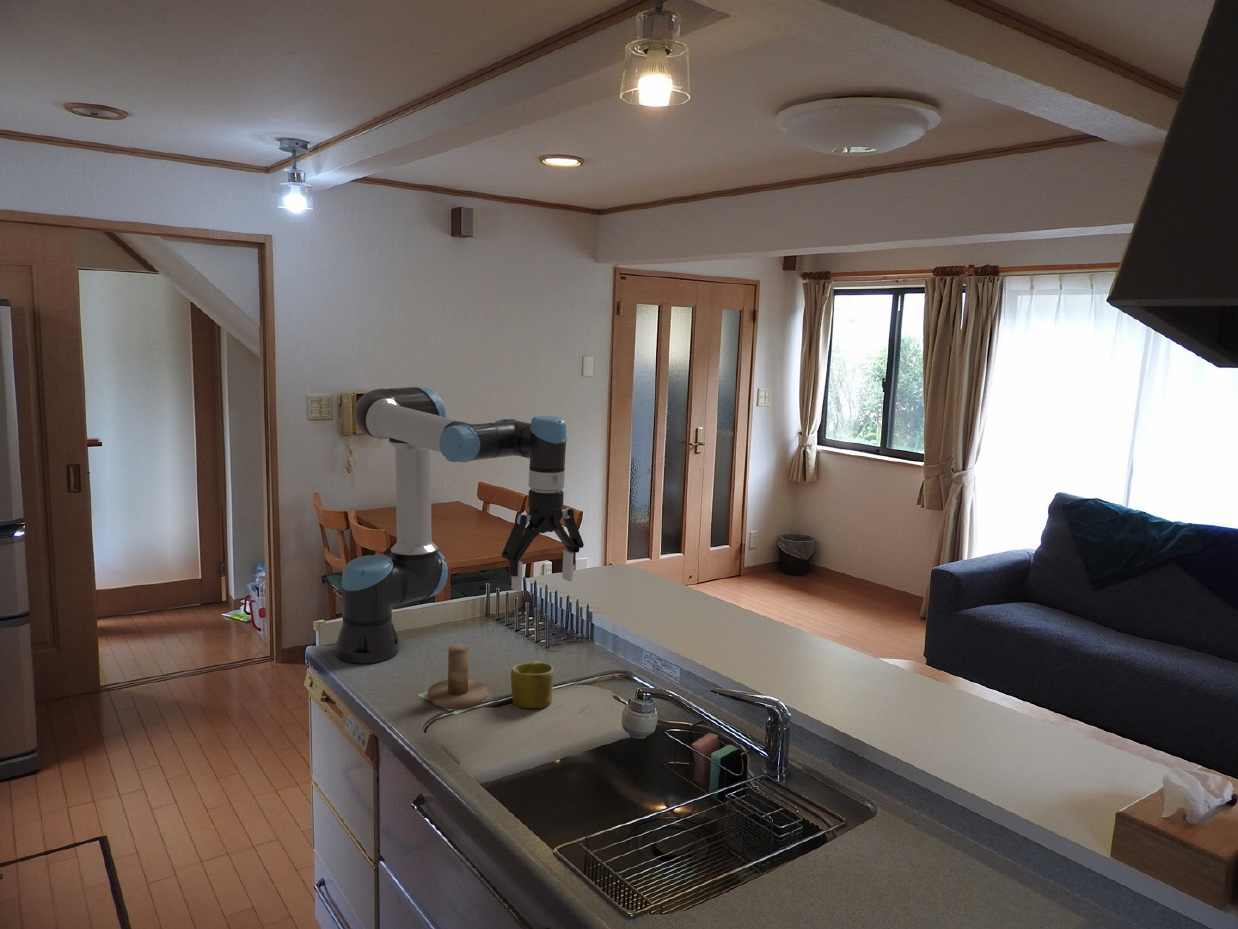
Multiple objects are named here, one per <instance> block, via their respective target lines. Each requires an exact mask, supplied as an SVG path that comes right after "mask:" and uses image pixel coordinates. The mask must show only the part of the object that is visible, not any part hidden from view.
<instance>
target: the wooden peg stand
mask: <svg viewBox="0 0 1238 929" xmlns="http://www.w3.org/2000/svg"><path fill="white" fill-rule="evenodd" d="M447 649H448V652H447V653H448V654H447V655H448V656H447V657H448V658H447V662H448V663H447V666H448V667H447V679H445V680H441V681H438V682H436V683H434V684H432V685H431V686H430V687H429V688H428V690H427V691H428V700H429V701H430V702H431V703H432V704H431V703H430V702H429V701H428V700H427V701H428V702H429V703H430V704H431V705H433V704H434V705H433V706H435V705H437V706H439V707H438V708H440V707H442V708H441V709H443V708H446V709H467V708H471V707H473V708H476V707H477V706H476V705H478V704H480V703H481V702H482V701H483V700H485V699H486V698H487V695H488V693H489V692H488V691H489V690H488V687H487V685H485V684H484V683H483V682H481V681H478V680H475V679H470V678H469V668H470V667H469V660H470V659H469V656H470V647H469V645H466V644H462V643H461V644H460V643H459V644H458V643H457V644H453V645H450V646H449V647H448V648H447ZM437 706H436V707H437ZM475 706H476V707H475ZM478 706H479V705H478ZM471 709H472V708H471Z"/></svg>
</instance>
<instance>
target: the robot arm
mask: <svg viewBox="0 0 1238 929" xmlns="http://www.w3.org/2000/svg"><path fill="white" fill-rule="evenodd" d="M353 420H354V422H355V425H356V427H357V429H358V430H360V432H362V433H363V434H365V435H366V436H369V437H372V438H374V439H378V440H388V443H389V445H391V446H392V447H393V448H394V451H395V452H394V454H395V455H394V456H395V457H394V458H395V498H396V500H395V503H396V504H395V505H396V506H395V507H396V509H395V510H396V511H395V512H396V513H395V514H396V543H395V544H393V546H392V547H391V549H390V556H388V555H386V554H373V555H370V554H367V555H363V556H359V557H356V558H354V559H352V560H350V561H349V562H347V563H346V564H345V566H344V567H343V569H342V580H341V587H342V589H341V590H342V591H341V592H342V596H341V597H342V599H341V600H342V602H341V603H342V624H341V626H340V629H339V633H338V636H337V640H336V642H335V644H334V646H335V647H334V653H335V654H334V655H335V657H336V658H337V659H338V660H341V661H343V662H346V663H349V664H350V663H351V664H360V665H361V664H363V665H364V664H372V663H373V664H375V663H381V662H383V661H387V660H390V659H392V658H394V657H396V656H397V655H398V653H399V651H400V641H399V638H398V634H397V632H396V631H397V630H396V629H395V626H394V624H393V617H392V616H393V607H396V606H400V605H405V604H408V603H413V602H416V601H422V600H427V599H429V598H431V597H434V596H437V595H438V594H439V593H440V592H441V591H443V589H444V587H446V586H445V585H446V584H447V580H448V576H449V575H448V574H449V570H448V565H447V564H448V563H447V561H446V558H445V556H444V555H443V554H442V553H441V552H440V551H439V550H438V548H439V547H438V545H436V544H435V543H434V542H433V539H432V536H433V535H432V476H431V475H432V469H431V468H432V467H431V460H432V458H431V454H432V452H431V450H432V451H435V452H439V453H441V454H442V456H443V457H444V458H445V460H447V461H448V462H452V463H468V462H472V461H479V460H487V459H496V458H504V457H513V456H514V457H520V458H527V459H528V460H529V472H528V473H529V474H528V487H529V490H528V492H527V493H528V496H527V497H528V499H527V506H528V509H529V510H528V513H527V514H522V513H519V512H518V513H516V514H515V519H514V520H515V521H514V525H513V526H512V530H511V531H510V535H509V537H508V538H507V540H506V543H505V546H504V548H503V550H502V552H501V555H500V556H501V558H502V559H505V560H507V561H509V569H508V570H509V571H508V573H509V576H511V585H510V586H511V589H512V590H514V592H515V591H516V592H518V593H520V592H522V588H523V584H522V583H523V561H521V559H522V557H523V556H524V554H525V553H526V551H527V550H528V548H529V547H530V546H531V544H532V543H533V541H534V540H535V538H537V537H539V535H540V534H545V533H552V532H553V533H555V535H556V536H557V537H558V539H559V540H560V541H561V543H562V544H563V546H565V548H566V549H564V550H563V552H562V553H563V554H562V555H563V556H562V576H561V577H562V579H563V580H565V581H567V582H569V583H570V582H573V575H574V574H573V571H574V566H575V564H576V556H577V555H576V554H577V553H579V552H580V549H581V548H584V546H585V544H584V541H583V538H582V536H581V533H580V530H579V528H578V525H577V523H576V520H575V513H574V512H575V511H574V509H572V508H570V507H567V506H564V500H565V499H564V497H565V496H564V495H565V494H564V491H563V489H564V488H565V475H566V474H565V473H566V469H565V468H566V452H567V451H566V450H567V448H566V447H567V440H568V436H567V423H566V420H565V419H564V418H562V417H558V416H549V415H539V416H538V415H537V416H534V417H532V418H531V421H530V422H525V421H521V420H516V419H513V418H509V419H508V418H500V419H498V420H496V421H495V422H486V423H468V422H464V421H460V420H457V419H453V418H450V417H447V411H446V407H445V403H444V401H443V399H442V397H440V395H439V394H438V393H437V392H436V391H435V390H434V389H433V388H432V389H431V388H430V387H421V386H420V387H418V386H413V387H412V386H410V387H409V386H408V387H394V388H393V387H392V388H376V389H372V390H369V391H367V392H366V393H364V394H362V396H361V397H360V398H359V399H358V401H357V402H356V404H355V405H354V410H353ZM562 519H563V521H564V524H565V527H566V529H567V530H566V531H565V528H564V526H563V524H562V523H561V520H562ZM567 532H568V533H567Z"/></svg>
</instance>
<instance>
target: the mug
mask: <svg viewBox="0 0 1238 929" xmlns="http://www.w3.org/2000/svg"><path fill="white" fill-rule="evenodd" d="M510 671H511V672H510V684H511V698H512V702H513V704H514V705H515V706H516V707H518V708H521V709H525V710H534V709H542V708H547V707H549V706H550V705H551V703H552V702H553V686H554V678H555V670H554V667H553V666H552V665H551V664H547V663H544V662H541V660H532V661H531V662H527V663H526V662H524V663H518V664H516V665H514V666H512V668H511V669H510Z"/></svg>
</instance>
